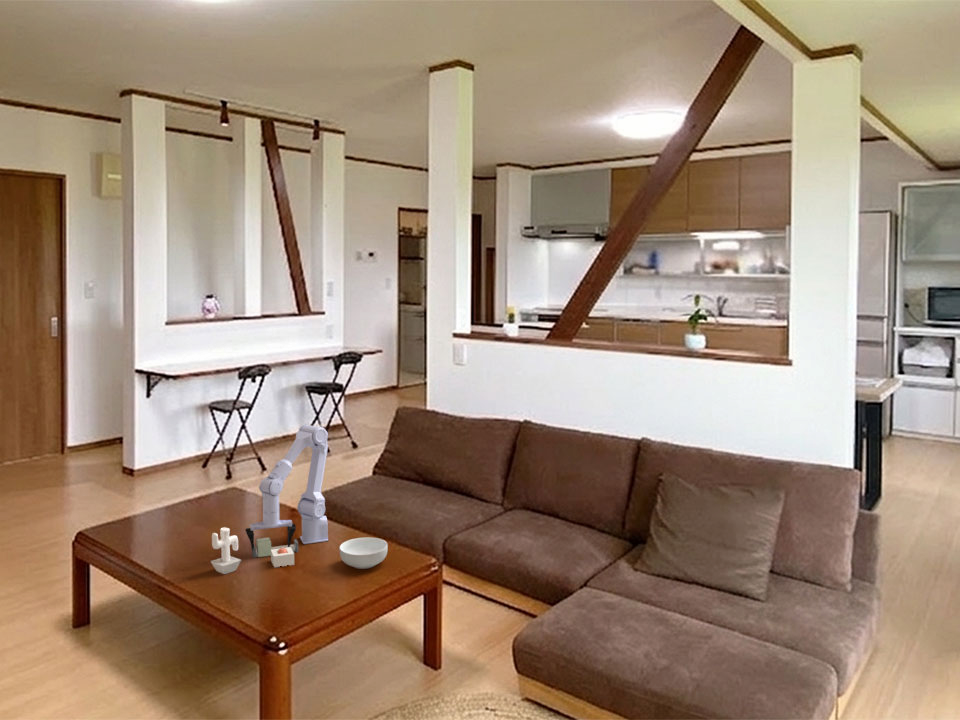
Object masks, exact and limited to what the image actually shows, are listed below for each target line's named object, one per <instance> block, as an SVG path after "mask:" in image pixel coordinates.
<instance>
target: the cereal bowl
mask: <svg viewBox="0 0 960 720" xmlns="http://www.w3.org/2000/svg"><path fill="white" fill-rule="evenodd" d="M388 551H389V549H388V542H387V541H386V540H384V539H382V538H378V537H370V536H369V537H367V536H366V537H365V536H364V537H358V538H357V537H356V538H352V539H348V540H346V541H344V542H342V543H341V544H340V545H339V556H340V559H341V560H342V561H343V563H345V564H346V565H348V566H350V567H353V568H355V569H360V570H362V569H370V568H373V567H375V566H376V565H378V564H381V562H383V561H384V560H385V558H387V554H388Z"/></svg>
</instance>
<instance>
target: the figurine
mask: <svg viewBox="0 0 960 720" xmlns="http://www.w3.org/2000/svg"><path fill="white" fill-rule="evenodd" d="M219 531H220V535H218V533H216V532H212V533H211V546H212V548H213V549H214V550H218V549H220V551H221V553H220V555H221V557H219V558H216V559H213V560H211V561H210V563H211V564H212V566H213V568H214V570H215V571H216V572H217V573H220V574H222V575H227V574H230V573H233V572H235V571H237V569H238V567H239V565H240V564H241V562H242V559H240V558H237V557H234V556H231V550H230V549H231V548H230V547H231V546H232V550H233V551H236V552H237V551H238V550H239V538H238V536H237V535H236V534H235V535H230V531H231V530H230V528H229V527H226V526H224V527H221V528H220V529H219ZM219 536H220V539H219Z"/></svg>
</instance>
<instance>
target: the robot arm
mask: <svg viewBox="0 0 960 720" xmlns="http://www.w3.org/2000/svg"><path fill="white" fill-rule="evenodd" d="M328 437H329V433H328V431H327V430H326V429H325V428H324V427H323V426H316V425H309V424H307V423H304V424H302V425H301V426H300V427H299V429H298V431H296V434H295V439H294V441H293V443H292V444H291V446H290V448H289V449H288V452H287V453H286V454H285V457H284V458H283V459H279V460H278V461H277V462H276V463H275V465H274V467H273V469H272V470H271V471H270V473H269V474H268V475H267V477H266V476H265V478H263V479H262V480H261V481H260V483H259V486H258V489H259V492H260V493H261V497H262V521H259V522H255V523H250V524H249V526H250V527H247V528H245V533H246V535H247V537H248V540H249V542H250V545H251V551H252V550H253V548H254V545H255V542H254V541H255V533H254V530H265V529H277V528H285V527H286V530H287V532H286V533H287V538H286V539H287V542H286V543H287V544H286V545H288V546H290V545H291V544H292V543H291V542H292V539H293V537H294V534H295V532H296V531H297V527H296V524H295V523H293V521H292V519H280V493H281V492H283V488H284V484H285V481H286V479H287V477H288V476H289V475H290V473H291V471H292V470H293V467H292V466H293V465H292V464H293V463H294V462H295V461H296V459H297V458H298V457H299V455H300V454H301V453H302V451H303V450H304V449H305V448H310V449H311V450H312V453H311V459H310V466H309V470H308V471H309V472H308V477H307V485H306V490H305V492H302V494H301V495H300V499H299V501H298V502H297V511H298V513H299V514H300V517H301V536H299V538H300V541H301V542H302V544H303V545H307V544H313V543H314V544H315V543H323V542H328V541H329V533H328V532H329V529H328V527H329V526H328V518H327V515H325V513H326V506H325V505H326V504H325V503H326V499H325V497H324V496H323V494H322V486H323V480H324V475H325V470H326V469H325V467H326V461H327V455H328V448H329V446H328Z"/></svg>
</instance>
